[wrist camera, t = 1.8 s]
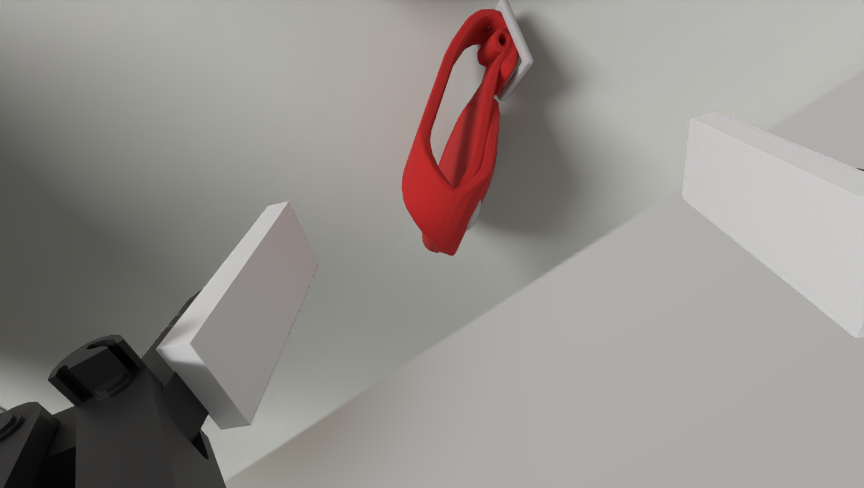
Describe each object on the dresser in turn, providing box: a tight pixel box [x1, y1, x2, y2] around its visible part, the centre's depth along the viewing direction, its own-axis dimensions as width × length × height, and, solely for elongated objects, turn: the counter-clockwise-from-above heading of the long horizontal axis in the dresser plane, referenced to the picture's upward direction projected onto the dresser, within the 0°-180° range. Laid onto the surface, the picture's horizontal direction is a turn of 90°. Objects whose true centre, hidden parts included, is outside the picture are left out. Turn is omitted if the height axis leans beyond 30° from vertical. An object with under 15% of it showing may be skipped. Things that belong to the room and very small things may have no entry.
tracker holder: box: [402, 0, 534, 256], centre depth 19 cm, size 12×4×10 cm, turn 160°
